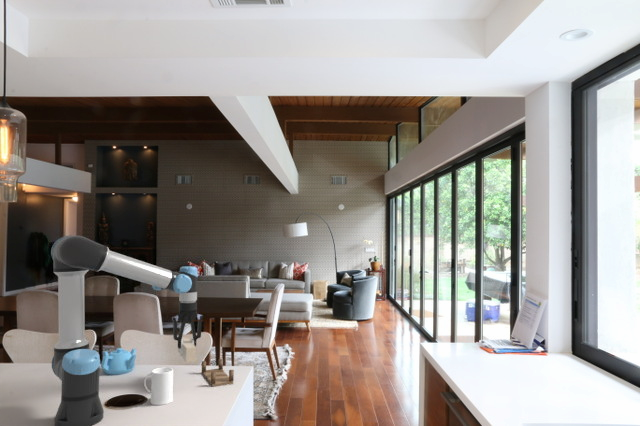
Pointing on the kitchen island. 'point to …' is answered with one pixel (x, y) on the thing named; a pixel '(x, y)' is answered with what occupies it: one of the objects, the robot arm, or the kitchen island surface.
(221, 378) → the rack
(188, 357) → the beige long block
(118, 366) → the teapot
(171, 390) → the mug
